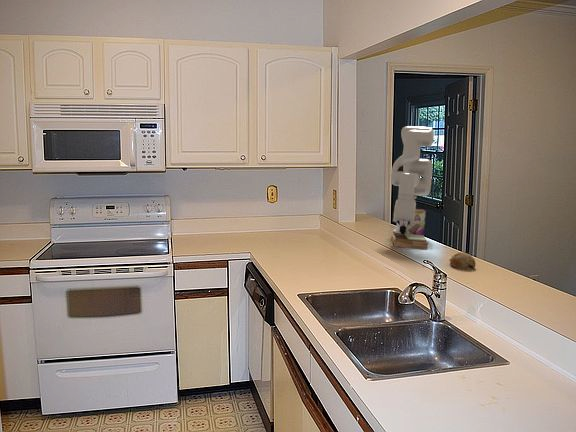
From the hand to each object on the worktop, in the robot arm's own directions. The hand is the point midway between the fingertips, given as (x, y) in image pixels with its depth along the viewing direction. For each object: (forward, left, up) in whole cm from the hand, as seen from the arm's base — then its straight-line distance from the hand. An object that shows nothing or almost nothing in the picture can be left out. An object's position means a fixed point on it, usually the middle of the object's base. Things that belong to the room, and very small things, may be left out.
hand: (402, 233), depth 274 cm
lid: (0, +7, -2) cm, 7 cm away
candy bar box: (-14, +7, -5) cm, 16 cm away
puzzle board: (0, +4, -5) cm, 6 cm away
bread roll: (+44, +21, -6) cm, 49 cm away
